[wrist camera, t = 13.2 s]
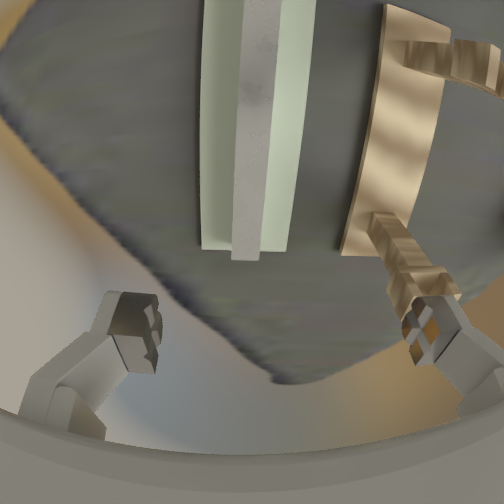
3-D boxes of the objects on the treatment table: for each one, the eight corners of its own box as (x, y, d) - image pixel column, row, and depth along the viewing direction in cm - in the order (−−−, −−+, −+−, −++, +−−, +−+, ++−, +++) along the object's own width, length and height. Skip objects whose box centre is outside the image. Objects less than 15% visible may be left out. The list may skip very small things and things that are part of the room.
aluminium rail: (245, -12, 19) (245, -19, 17) (278, -9, 20) (282, -16, 17) (231, 244, 36) (231, 259, 34) (257, 244, 36) (258, 260, 34)
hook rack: (383, 4, 20) (481, -10, 8) (445, 28, 21) (548, 42, 9) (339, 250, 38) (376, 346, 26) (392, 252, 39) (440, 338, 27)
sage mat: (207, -20, 19) (206, -22, 19) (315, -12, 20) (317, -13, 19) (202, 246, 37) (201, 249, 36) (285, 248, 38) (285, 251, 37)
